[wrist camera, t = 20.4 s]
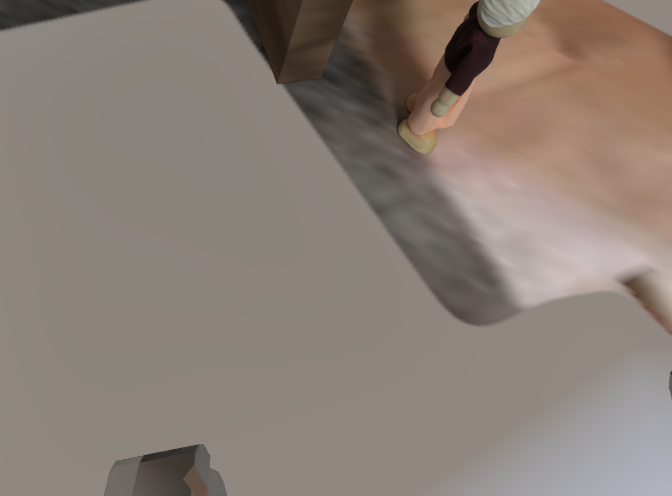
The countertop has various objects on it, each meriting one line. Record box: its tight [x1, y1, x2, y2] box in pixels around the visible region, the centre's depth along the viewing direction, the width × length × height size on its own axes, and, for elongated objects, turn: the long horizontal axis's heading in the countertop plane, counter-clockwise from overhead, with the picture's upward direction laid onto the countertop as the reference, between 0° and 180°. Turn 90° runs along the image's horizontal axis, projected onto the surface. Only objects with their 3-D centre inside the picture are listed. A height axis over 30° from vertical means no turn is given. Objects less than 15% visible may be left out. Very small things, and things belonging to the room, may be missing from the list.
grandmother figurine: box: [398, 0, 540, 154], centre depth 36 cm, size 8×4×13 cm, turn 170°
